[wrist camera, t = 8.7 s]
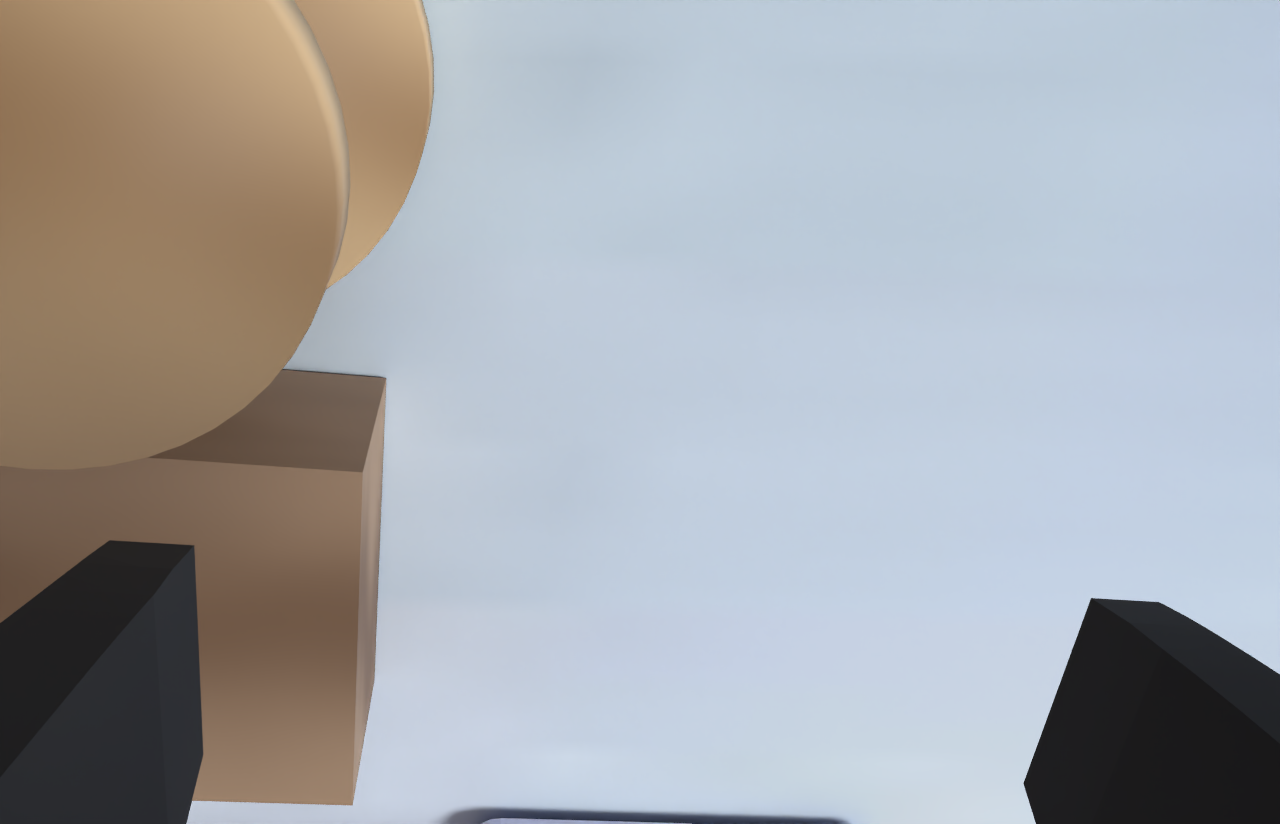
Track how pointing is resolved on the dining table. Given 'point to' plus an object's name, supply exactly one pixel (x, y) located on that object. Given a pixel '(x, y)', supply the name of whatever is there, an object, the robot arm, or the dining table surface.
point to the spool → (186, 203)
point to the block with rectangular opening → (246, 573)
